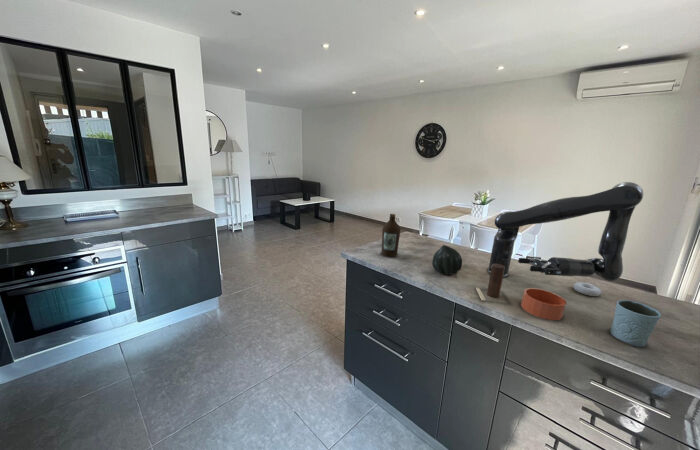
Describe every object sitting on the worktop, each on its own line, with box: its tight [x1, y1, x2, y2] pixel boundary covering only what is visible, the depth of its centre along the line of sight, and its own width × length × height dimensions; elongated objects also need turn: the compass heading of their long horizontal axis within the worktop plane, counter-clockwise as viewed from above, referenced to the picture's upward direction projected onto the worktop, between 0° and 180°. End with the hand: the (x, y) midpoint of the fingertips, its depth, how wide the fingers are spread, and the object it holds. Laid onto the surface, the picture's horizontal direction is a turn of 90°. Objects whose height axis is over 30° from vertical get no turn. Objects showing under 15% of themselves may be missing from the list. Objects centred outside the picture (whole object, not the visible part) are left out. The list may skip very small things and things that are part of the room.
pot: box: [520, 287, 567, 321], centre depth 105 cm, size 14×14×6 cm
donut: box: [572, 281, 602, 297], centre depth 123 cm, size 10×4×10 cm
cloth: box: [475, 287, 487, 302], centre depth 115 cm, size 11×11×1 cm
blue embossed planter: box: [610, 299, 662, 348], centre depth 89 cm, size 10×10×12 cm
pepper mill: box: [486, 264, 505, 299], centre depth 113 cm, size 5×5×14 cm
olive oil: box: [381, 213, 401, 258], centre depth 157 cm, size 11×11×25 cm
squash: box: [431, 244, 463, 276], centre depth 138 cm, size 14×15×15 cm
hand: (524, 264), depth 111 cm, fingers open, 8 cm apart
